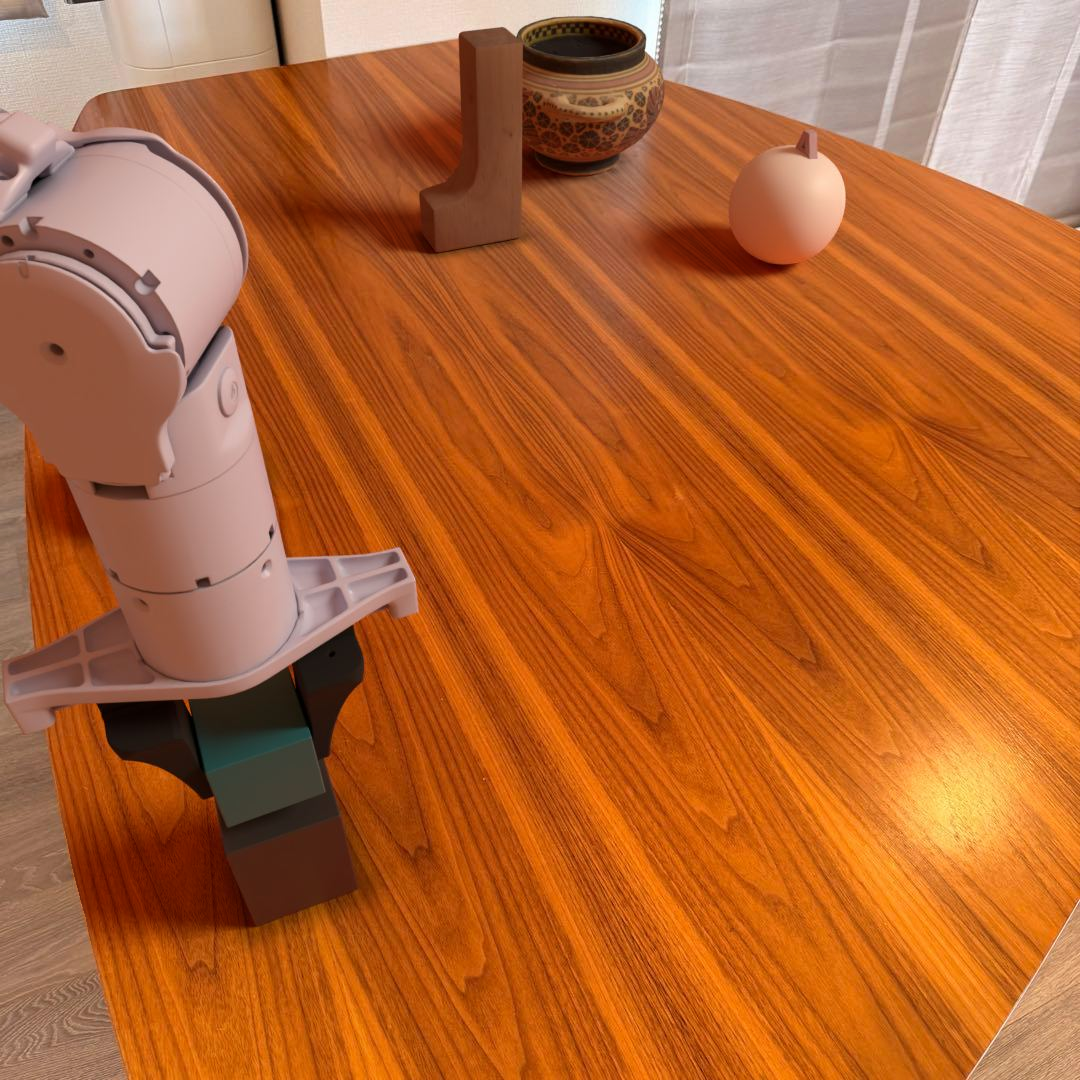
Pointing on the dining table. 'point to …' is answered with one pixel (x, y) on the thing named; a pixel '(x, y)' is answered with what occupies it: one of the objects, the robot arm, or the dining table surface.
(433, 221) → the wooden block
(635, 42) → the ceramic bowl
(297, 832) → the dark brown block
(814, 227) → the ornament
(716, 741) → the dining table surface
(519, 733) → the dining table surface
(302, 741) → the teal block
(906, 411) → the dining table surface
